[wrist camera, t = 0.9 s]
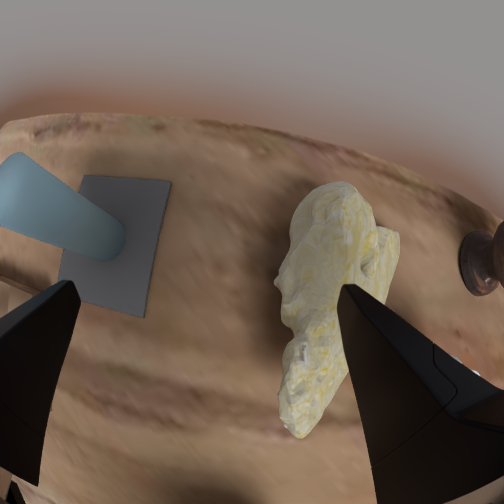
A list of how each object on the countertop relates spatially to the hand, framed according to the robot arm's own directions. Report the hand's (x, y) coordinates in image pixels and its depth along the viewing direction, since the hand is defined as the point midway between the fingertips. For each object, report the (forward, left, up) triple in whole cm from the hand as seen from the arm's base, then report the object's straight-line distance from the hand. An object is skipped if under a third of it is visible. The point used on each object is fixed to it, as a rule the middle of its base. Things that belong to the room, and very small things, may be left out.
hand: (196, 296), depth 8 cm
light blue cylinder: (+3, +12, -13) cm, 18 cm away
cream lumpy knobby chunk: (0, -8, -14) cm, 16 cm away
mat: (+3, +12, -14) cm, 18 cm away
